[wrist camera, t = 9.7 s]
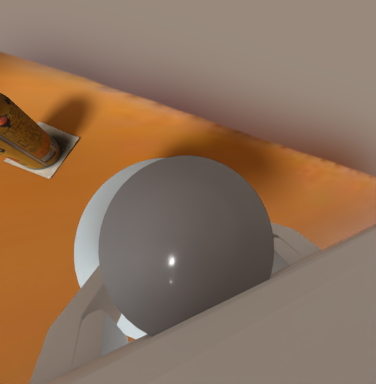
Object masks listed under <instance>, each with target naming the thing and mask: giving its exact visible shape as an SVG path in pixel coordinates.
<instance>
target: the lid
mask: <svg viewBox="0 0 376 384" xmlns="http://www.w3.org/2000/svg"><path fill="white" fill-rule="evenodd" d="M74 261H75V270H76V275H77V279H78V283H79V285H80V288H81V287H82V286H83V285H84V284H85V282H86V281H87V280H88V278H89V277H90V276H91V275H92V273H93V272H94V271H95V270H96V268H97V267H98V266H99V265H100V270H101V274H102V278H103V281H104V284H105V287H106V289H107V291H108V294H109V296H110V297H111V299H112V301H113V302H114V304H115V305H116V307H117V308H118V310H119V311H120V312H121V313H122V314H121V316H120V319H119V321H118V323H117V326H118V327H119V328H120V330H121V331H122V332H123V333H124V334H125V335H127V336H130V337H132V338H135V339H138V338H140V337H142V336H144V335H146V334H148V335H150V336H154V335H156V334H158V333H161V332H163V331H165V330H167V329H169V328H171V327H173V326H175V325H177V324H179V323H181V322H183V321H185V320H187V319H189V318H191V317H193V316H195V315H197V314H199V313H201V312H203V311H205V310H208V309H210V308H212V307H214V306H216V305H218V304H220V303H222V302H224V301H226V300H228V299H230V298H232V297H234V296H236V295H238V294H240V293H242V292H244V291H246V290H248V289H250V288H253V287H255V286H257V285H259V284H261V283H263V282H265V281H267V280H269V279H270V276H271V272H272V267H273V261H274V238H273V232H272V227H271V223H270V219H269V216H268V214H267V211H266V209H265V207H264V205H263V203H262V201H261V199H260V197H259V196H258V194H257V193H256V191H255V190H254V189H253V188H252V186H251V185H250V184H249V183H248V182H247V181H246V180H245V179H244V178H243V177H242V176H241V175H239V174H238V173H237V172H236V171H234V170H233V169H231V168H229V167H228V166H226V165H224V164H222V163H220V162H218V161H215V160H212V159H209V158H205V157H200V156H190V155H184V156H173V157H168V158H156V159H150V160H145V161H142V162H138V163H136V164H133V165H131V166H128V167H127V168H125V169H123V170H121V171H119V172H118V173H117V174H115V175H114V176H112V177H111V178H110V179H109V180H108V181H106V182H105V183H104V184H103V185H102V186H101V187H100V188H99V190H98V191H97V192H96V193H95V194H94V195H93V197H92V199H91V200H90V202H89V203H88V205H87V206H86V208H85V210H84V213H83V215H82V217H81V219H80V222H79V225H78V228H77V233H76V238H75V246H74Z"/></svg>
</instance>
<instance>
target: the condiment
mask: <svg viewBox="0 0 376 384" xmlns="http://www.w3.org/2000/svg"><path fill="white" fill-rule="evenodd" d="M78 139H79V137H77V136H74V135H71V134H69V133H66V132H64V131H61V130H59V129H56V128H54V127H52V126H49V125H47V124H45V123H42V122H40V121H39V122H38V124H36V123H35V122H34V121H33V120H32V119H31V118H30V117H29V116H28V115H27V114H25V113H24V112H23V111H22V110H21V109H20V108H19V107H18V106H17V105H16V104H15V103H14V102H12V101H11V100H10V99H9V98H8V97H6V96H5V95H3V94H1V93H0V154H1V155H3V156H5V157H6V158H7V159H6V160H4V161H5V162H7V163H10V164H12V165H15V166H17V167H20V168H23V169H25V170H28V171H30V172H33V173H35V174H38V175H41V176H43V177H46V178H48V179H50V178H51V176H52V175H53V174H54V173H55V171H56V170H57V169H58V167H59V166H60V165H61V163H62V162H63V161H64V159H65V157H66V156H67V154H68V153H69V152H70V151H71V149H72V148H73V147H74V145H75V143H76V142H77V141H78ZM62 149H63V150H62Z"/></svg>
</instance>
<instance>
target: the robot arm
mask: <svg viewBox="0 0 376 384" xmlns="http://www.w3.org/2000/svg"><path fill="white" fill-rule="evenodd" d="M270 223H271V227H272V232H273V238H274V261H273V267H272V272H271V276H270V279H269V280H267V281H265V282H263V283H261V284H259V285H257V286H255V287H253V288H250V289H248V290H246V291H244V292H242V293H240V294H238V295H236V296H234V297H232V298H230V299H228V300H226V301H224V302H222V303H220V304H218V305H216V306H214V307H212V308H210V309H208V310H205V311H203V312H201V313H199V314H197V315H195V316H193V317H191V318H189V319H187V320H185V321H183V322H181V323H179V324H177V325H175V326H173V327H171V328H169V329H167V330H165V331H163V332H161V333H158V334H156V335H154V336H150V335H148V334H146V335H144V336H142V337H140V338H138V339H136V340H134V341H132V342H129V343H128V338H127V337H126V335H125V334H124V333H123V332H122V331H121V330H120V328H119V327H118V326H117V323H118V321H119V319H120V316H121V314H122V313H121V312H120V311H119V310H118V308H117V307H116V305H115V304H114V302H113V301H112V299H111V297H110V296H109V294H108V291H107V289H106V287H105V284H104V281H103V278H102V274H101V270H100V265H99V266H98V267H97V268H96V270H95V271H94V272H93V273H92V275H91V276H90V277H89V278H88V280H87V281H86V282H85V284H84V285H83V286H82V287H81V289H80V290H79V291H78V292H77V294H76V295H75V296H74V297H73V299H72V300H71V301H70V303H69V304H68V305H67V306H66V308H65V309H64V310H63V311H62V313H61V314H60V315H59V317H58V318H57V319H56V320H55V322H54V323H53V324H52V325H51V327H50V328H49V329H48V332H47V335H46V338H45V341H44V344H43V347H42V349H41V352H40V355H39V358H38V361H37V364H36V366H35V369H34V372H33V375H32V378H31V381H30V383H29V384H376V224H374V225H372V226H370V227H368V228H366V229H364V230H362V231H360V232H358V233H356V234H354V235H352V236H350V237H347V238H345V239H343V240H341V241H339V242H337V243H335V244H333V245H331V246H329V247H327V248H325V249H323V250H322V249H320V248H319V247H317V246H316V245H315V244H313V243H312V242H311V241H309V240H308V239H306V238H305V237H304V236H302V235H301V234H300V233H298V232H297V231H296V230H294V229H291V228H288V227H285V226H282V225H278V224H275V223H272V222H270Z"/></svg>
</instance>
